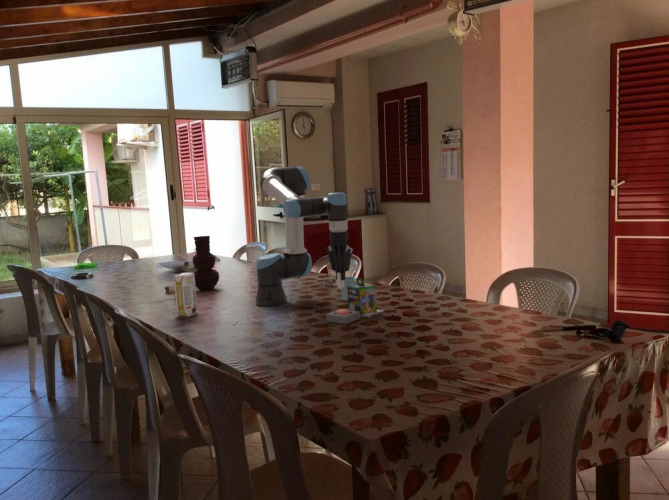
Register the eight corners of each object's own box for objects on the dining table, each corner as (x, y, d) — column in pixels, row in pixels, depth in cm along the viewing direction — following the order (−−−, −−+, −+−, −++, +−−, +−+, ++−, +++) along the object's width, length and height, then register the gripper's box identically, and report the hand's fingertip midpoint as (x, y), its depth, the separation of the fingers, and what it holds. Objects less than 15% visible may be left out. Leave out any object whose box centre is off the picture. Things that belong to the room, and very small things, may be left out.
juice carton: (200, 312, 265) (196, 272, 262) (188, 317, 257) (184, 275, 254) (187, 312, 268) (183, 272, 265) (174, 316, 260) (171, 275, 258)
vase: (226, 288, 321) (221, 235, 317) (206, 293, 308) (201, 238, 305) (206, 286, 330) (201, 234, 326) (186, 292, 317) (181, 238, 313)
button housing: (326, 321, 236) (326, 314, 236) (341, 315, 244) (341, 309, 244) (345, 324, 230) (345, 317, 230) (360, 318, 238) (359, 311, 237)
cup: (359, 299, 273) (357, 278, 272) (344, 301, 270) (343, 280, 269) (352, 296, 280) (350, 275, 279) (337, 299, 277) (336, 278, 276)
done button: (334, 317, 237) (334, 311, 236) (342, 315, 240) (341, 308, 240) (344, 319, 233) (344, 312, 233) (352, 316, 237) (351, 309, 237)
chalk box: (377, 311, 246) (376, 277, 244) (360, 315, 241) (358, 280, 239) (365, 307, 254) (363, 274, 252) (348, 311, 249) (346, 278, 247)
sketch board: (342, 313, 248) (341, 312, 247) (358, 307, 257) (358, 306, 257) (368, 317, 239) (368, 316, 239) (384, 311, 248) (384, 310, 248)
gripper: (320, 231, 233) (323, 288, 237) (345, 232, 225) (348, 291, 229) (331, 229, 239) (334, 284, 243) (356, 230, 231) (359, 287, 234)
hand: (341, 287), depth 236 cm, fingers closed
